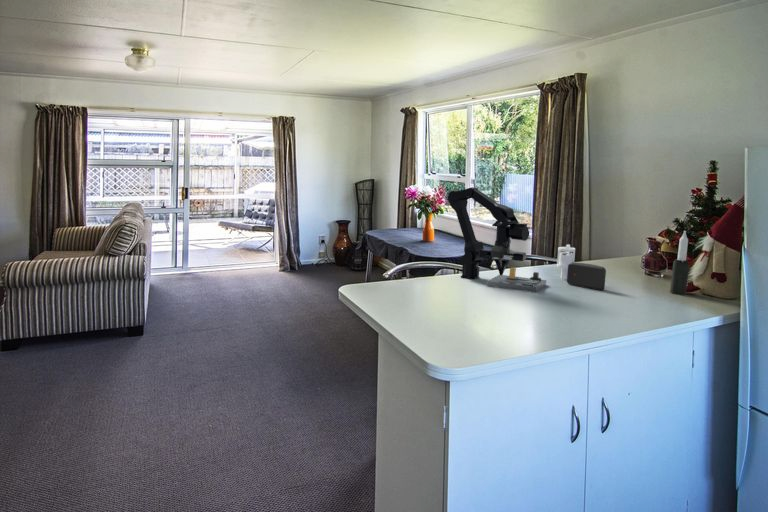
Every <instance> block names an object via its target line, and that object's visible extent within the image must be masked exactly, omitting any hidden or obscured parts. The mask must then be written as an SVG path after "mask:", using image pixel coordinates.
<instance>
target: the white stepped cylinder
mask: <svg viewBox="0 0 768 512" xmlns="http://www.w3.org/2000/svg"><path fill="white" fill-rule="evenodd" d="M575 257H576V247H571V244H566V245H565V246H559V247H558V248H557V260H556V267H557V268H560V269H561V270H560V280H563V281H567V271H568V264H569V263H572V262H575Z"/></svg>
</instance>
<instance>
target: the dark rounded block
mask: <svg viewBox="0 0 768 512" xmlns="http://www.w3.org/2000/svg"><path fill="white" fill-rule="evenodd" d="M606 274H607V270H606V268H605V267H603V266H601V265H597V264H592V263H591V264H590V263H584V262H575V261H574V262H572V263H569V264H568V271H567V280H566V283H567V284H568V285H571V286H575V287H576V286H577V287H581V288H587V289H592V290H596V291H604V289H605V286H606V276H607V275H606Z"/></svg>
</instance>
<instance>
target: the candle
mask: <svg viewBox="0 0 768 512" xmlns="http://www.w3.org/2000/svg"><path fill="white" fill-rule="evenodd" d="M688 245H689V238H688V237H687V230H684V231H683V233H682V235H681V237H680V238H679V243H678V251H677V258H675V259H674V260H673V262H672V271H671V280H670V288H669V292H670V293H671V294H672V295H681V294H686V293H687V286H688V277H689V269H690V262H689V260H688V259H687V254H688Z"/></svg>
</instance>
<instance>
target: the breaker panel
mask: <svg viewBox="0 0 768 512" xmlns="http://www.w3.org/2000/svg"><path fill="white" fill-rule="evenodd" d="M539 276H540V273H539V272H536V271H534V272H533V273H532V276H531V277H522V276H516V277H517V278H518V280H509V279H506V278H507V277H509V275H506V274H503V275H500V274H498V275H496V276H494V277H492V278H490V279H488V280H486V287H492V288H499V289H508V290H516V291H521V292H522V291H523V292H531V293H538V292H539V291H540V290H541V289H542V288H544V287H545V286H547V280H546V279H542V278H541V277H539Z"/></svg>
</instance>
